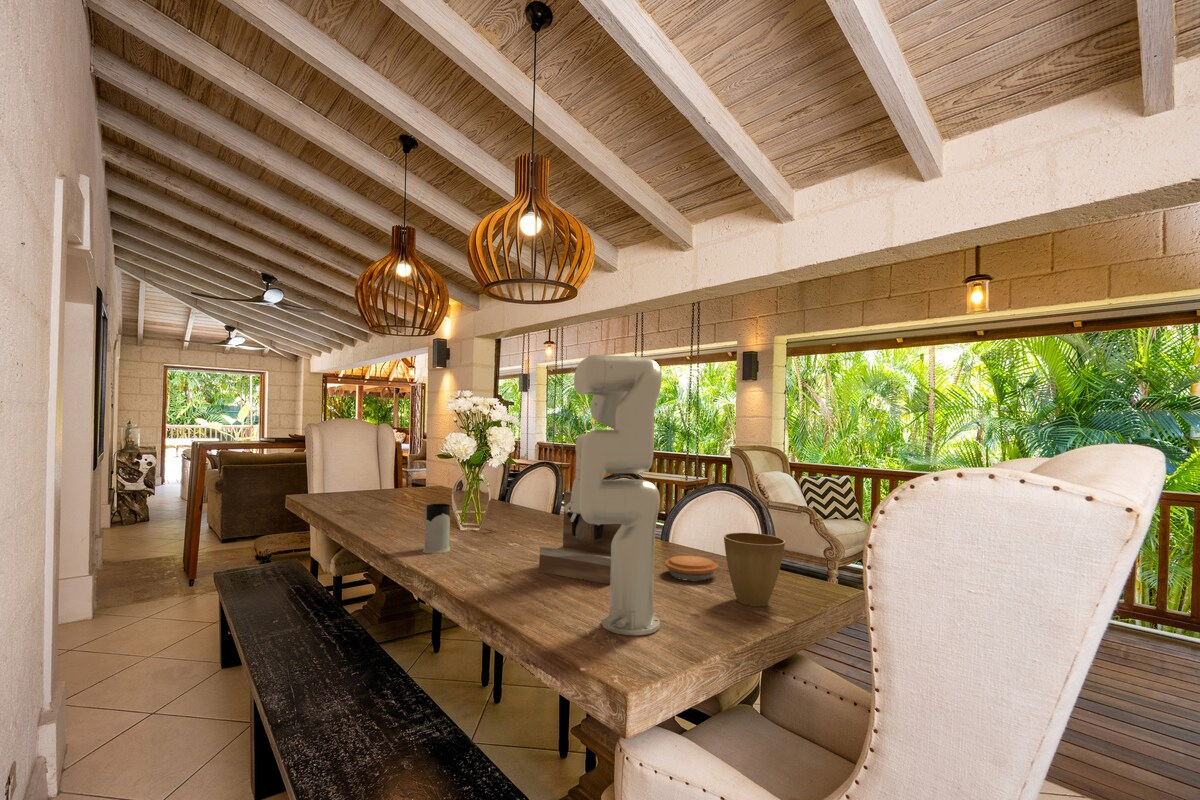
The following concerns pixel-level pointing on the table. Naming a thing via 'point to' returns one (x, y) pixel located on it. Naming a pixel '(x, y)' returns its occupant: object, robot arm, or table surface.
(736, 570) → the plant pot
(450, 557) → the table surface
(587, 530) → the vase
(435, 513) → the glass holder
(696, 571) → the pie
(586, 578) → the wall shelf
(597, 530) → the robot arm
